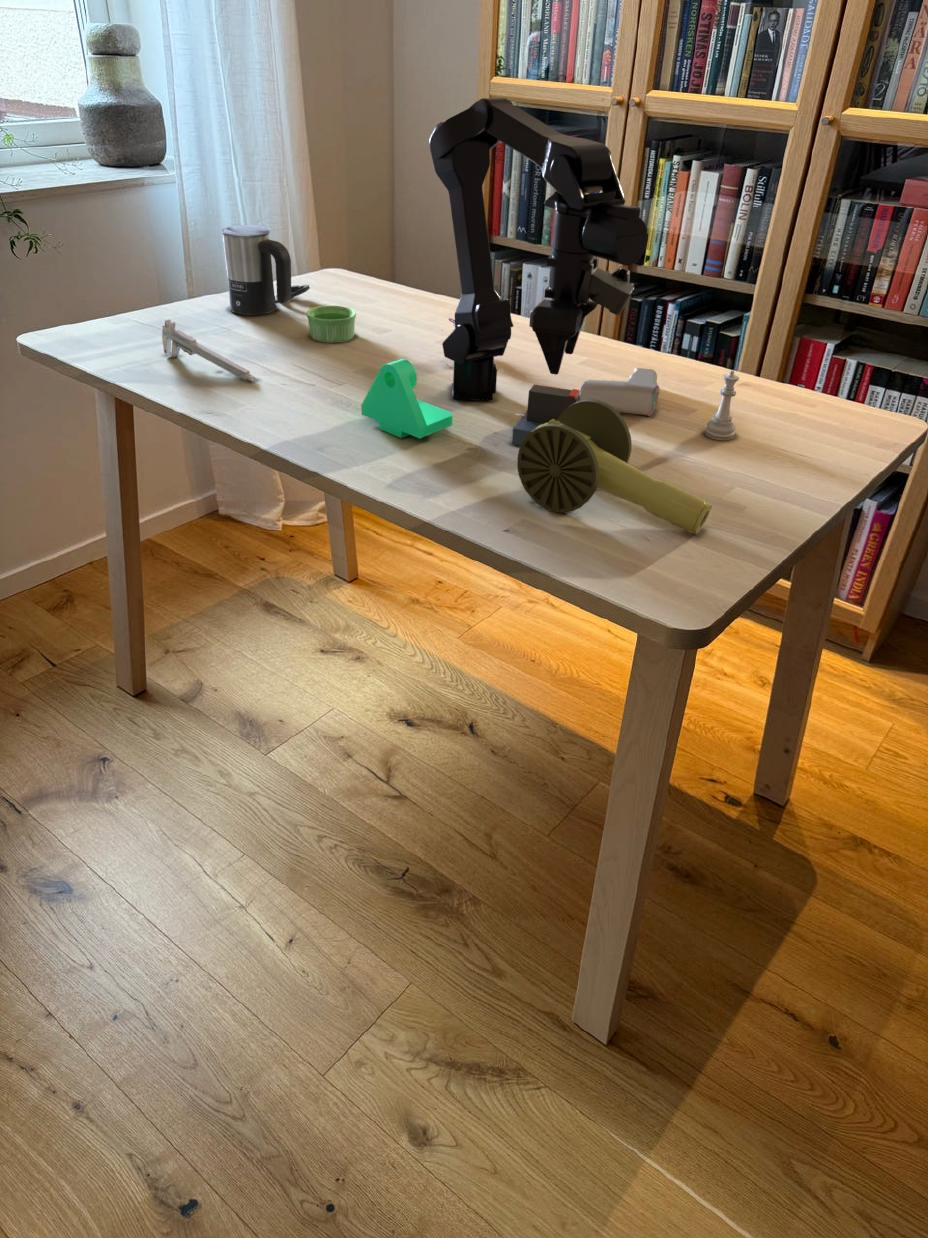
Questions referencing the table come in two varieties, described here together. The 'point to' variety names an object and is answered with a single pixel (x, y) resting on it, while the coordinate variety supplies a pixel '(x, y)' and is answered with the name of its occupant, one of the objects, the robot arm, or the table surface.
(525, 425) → the base
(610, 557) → the table surface
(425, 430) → the camera mount
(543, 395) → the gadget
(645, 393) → the infrared thermometer
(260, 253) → the milk frother
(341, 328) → the ramekin
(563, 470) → the cannon
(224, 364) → the caliper
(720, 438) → the chess piece
